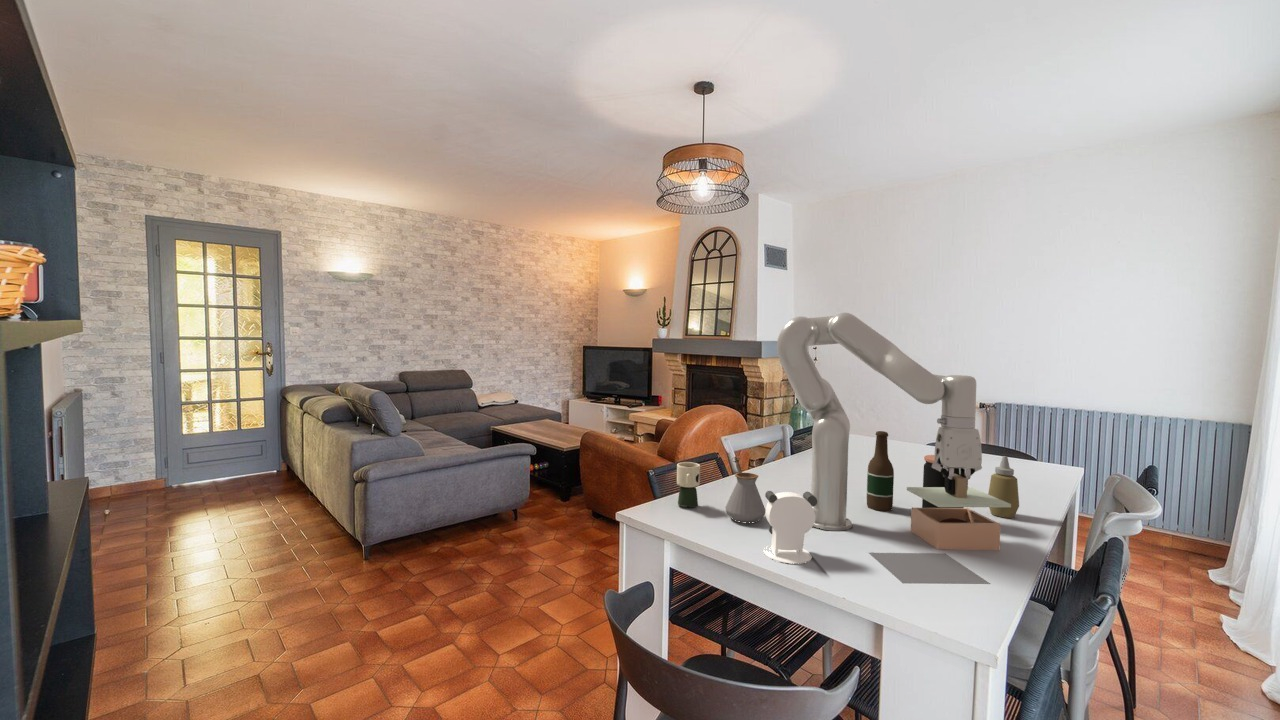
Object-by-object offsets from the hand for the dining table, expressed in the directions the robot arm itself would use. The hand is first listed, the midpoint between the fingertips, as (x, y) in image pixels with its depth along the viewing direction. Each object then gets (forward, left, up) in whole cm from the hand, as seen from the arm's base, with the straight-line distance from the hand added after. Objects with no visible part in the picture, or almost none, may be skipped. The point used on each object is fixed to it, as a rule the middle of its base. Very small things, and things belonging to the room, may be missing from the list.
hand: (955, 492), depth 137 cm
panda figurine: (-46, -9, -13) cm, 49 cm away
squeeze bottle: (+29, +22, -13) cm, 39 cm away
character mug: (-67, +28, -13) cm, 73 cm away
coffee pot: (-51, +21, -13) cm, 57 cm away
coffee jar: (+8, +18, -13) cm, 24 cm away
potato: (0, 0, -13) cm, 13 cm away
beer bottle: (-6, +28, -13) cm, 32 cm away
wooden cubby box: (0, 0, -13) cm, 13 cm away
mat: (-17, -17, -13) cm, 27 cm away
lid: (0, 0, -1) cm, 1 cm away
